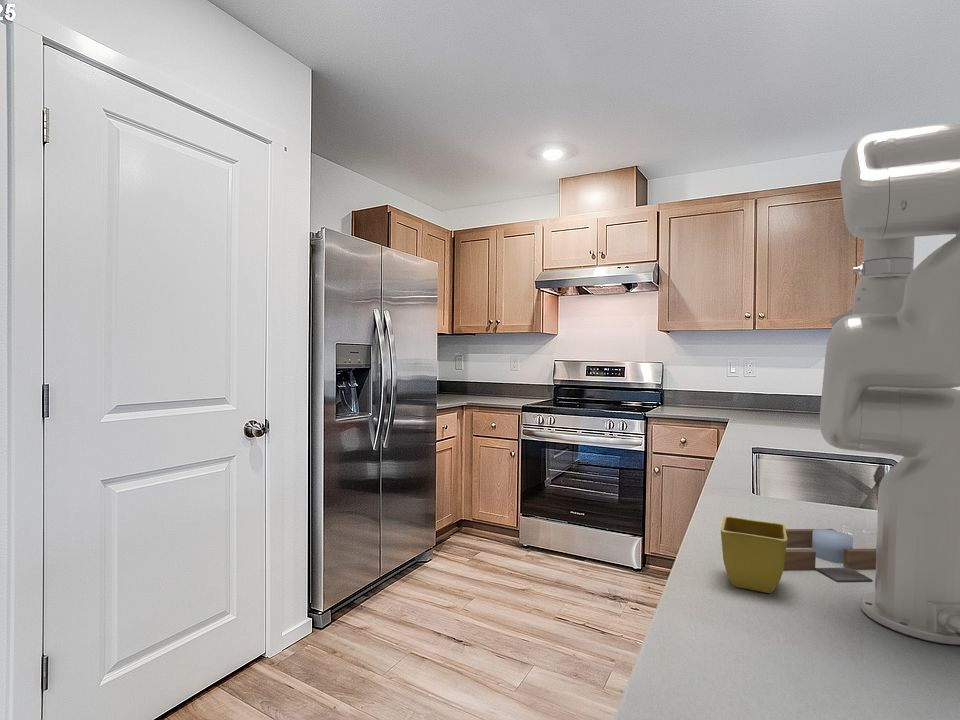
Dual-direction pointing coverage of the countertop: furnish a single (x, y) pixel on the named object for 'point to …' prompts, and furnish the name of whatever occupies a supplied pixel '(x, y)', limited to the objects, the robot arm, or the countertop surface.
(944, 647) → the countertop surface
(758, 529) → the flower pot
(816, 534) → the pale blue rounded cube
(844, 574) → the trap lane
